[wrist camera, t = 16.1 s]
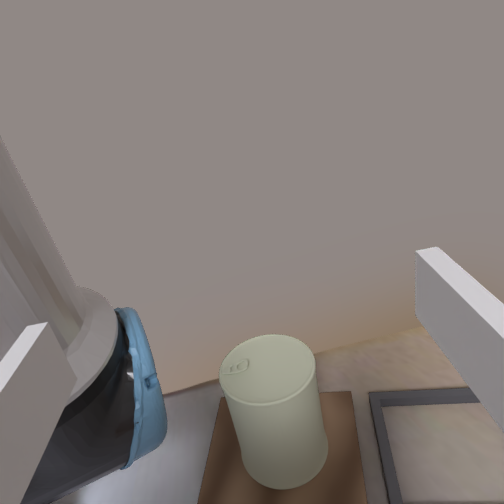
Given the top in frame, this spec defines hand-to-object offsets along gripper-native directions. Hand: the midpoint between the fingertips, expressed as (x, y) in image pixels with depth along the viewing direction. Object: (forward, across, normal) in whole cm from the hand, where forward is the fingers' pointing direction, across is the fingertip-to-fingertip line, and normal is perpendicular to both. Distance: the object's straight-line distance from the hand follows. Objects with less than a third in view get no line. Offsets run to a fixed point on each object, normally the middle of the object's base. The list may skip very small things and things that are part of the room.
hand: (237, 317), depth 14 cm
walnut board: (+17, 0, -30) cm, 34 cm away
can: (+16, 0, -29) cm, 33 cm away
